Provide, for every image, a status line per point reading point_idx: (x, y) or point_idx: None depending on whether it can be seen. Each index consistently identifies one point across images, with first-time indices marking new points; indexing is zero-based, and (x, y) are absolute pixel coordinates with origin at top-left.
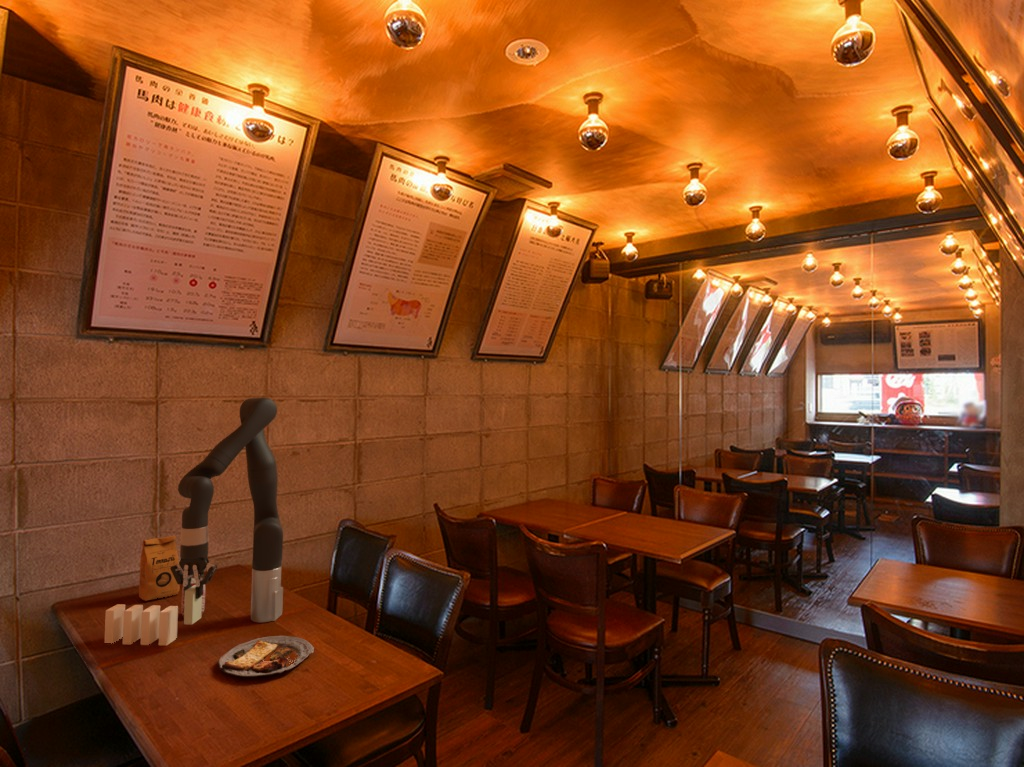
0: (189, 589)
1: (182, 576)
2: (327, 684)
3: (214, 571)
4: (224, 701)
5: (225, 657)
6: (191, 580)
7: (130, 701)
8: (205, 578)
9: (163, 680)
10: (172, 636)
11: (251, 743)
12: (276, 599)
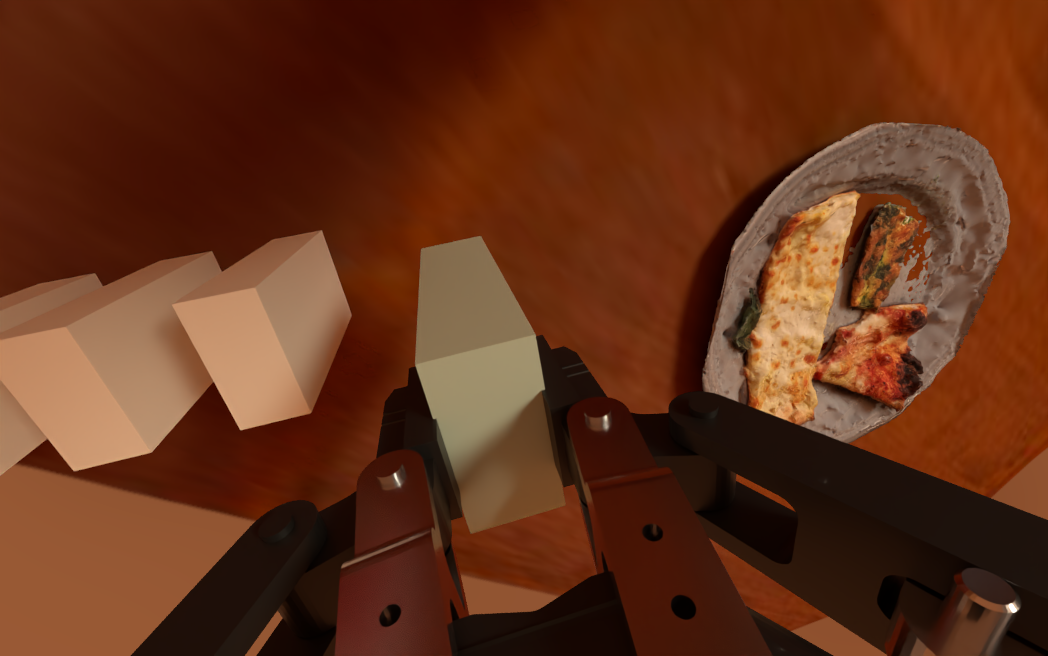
0: (488, 490)
1: (259, 623)
2: (1015, 370)
3: (965, 507)
4: (791, 509)
5: (716, 372)
6: (425, 480)
7: (568, 588)
8: (764, 550)
9: (575, 503)
10: (330, 279)
11: None
12: None
